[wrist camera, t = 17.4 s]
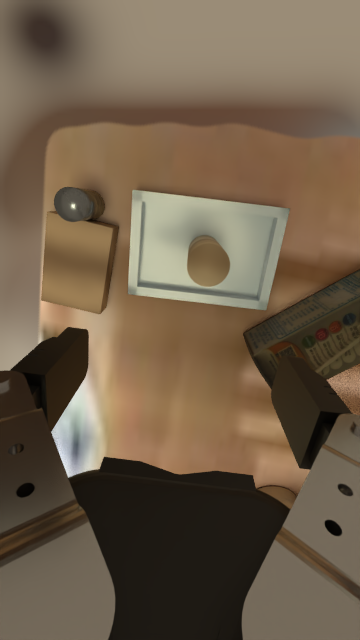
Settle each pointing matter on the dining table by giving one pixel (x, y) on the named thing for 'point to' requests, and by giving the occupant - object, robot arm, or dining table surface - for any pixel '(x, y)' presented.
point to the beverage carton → (312, 332)
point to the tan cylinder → (207, 261)
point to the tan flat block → (78, 263)
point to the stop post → (78, 204)
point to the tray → (195, 220)
